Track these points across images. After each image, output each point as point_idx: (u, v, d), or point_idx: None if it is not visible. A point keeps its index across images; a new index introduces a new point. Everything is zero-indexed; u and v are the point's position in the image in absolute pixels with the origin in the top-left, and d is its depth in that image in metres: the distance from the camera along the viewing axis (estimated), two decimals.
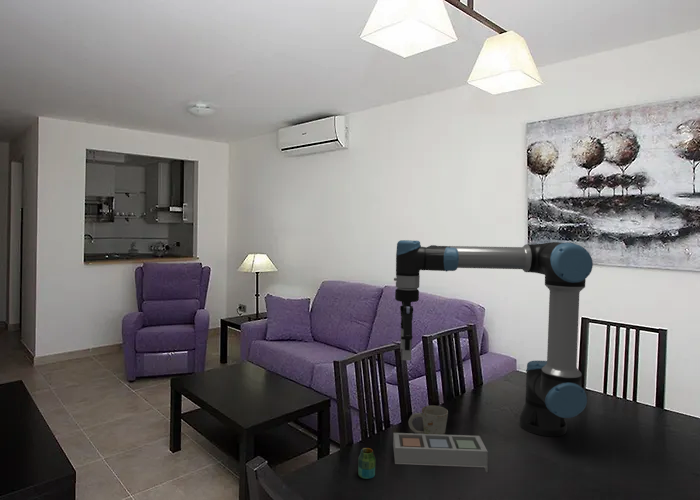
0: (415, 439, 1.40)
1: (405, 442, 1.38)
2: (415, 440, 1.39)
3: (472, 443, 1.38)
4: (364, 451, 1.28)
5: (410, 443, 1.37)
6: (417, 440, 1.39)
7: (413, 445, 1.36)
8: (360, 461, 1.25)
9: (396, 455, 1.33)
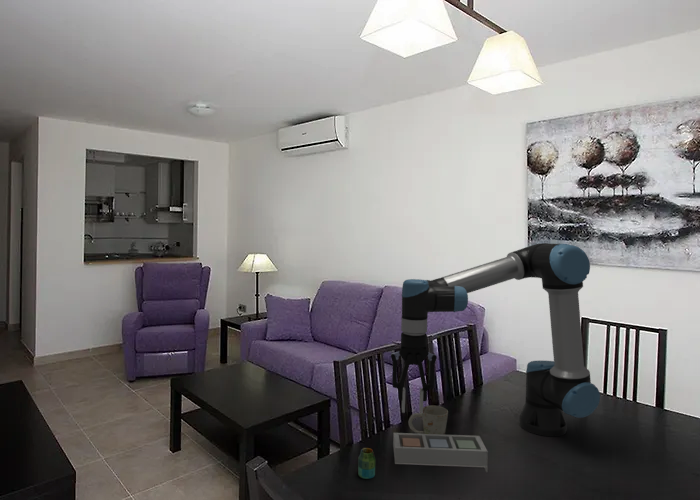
0: (415, 439, 1.40)
1: (405, 442, 1.38)
2: (415, 440, 1.39)
3: (472, 443, 1.38)
4: (364, 451, 1.28)
5: (410, 443, 1.37)
6: (417, 440, 1.39)
7: (413, 445, 1.36)
8: (360, 461, 1.25)
9: (396, 455, 1.33)
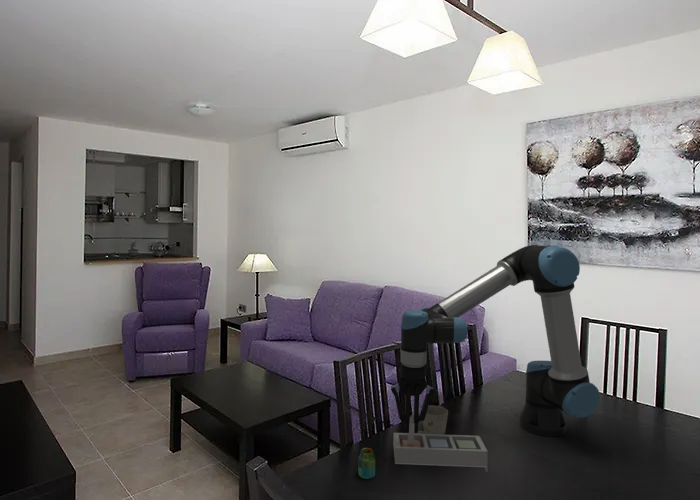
0: (415, 441, 1.40)
1: (405, 444, 1.38)
2: (415, 442, 1.39)
3: (472, 443, 1.38)
4: (364, 451, 1.28)
5: (410, 445, 1.37)
6: (417, 442, 1.39)
7: (413, 446, 1.36)
8: (360, 461, 1.25)
9: (396, 455, 1.33)
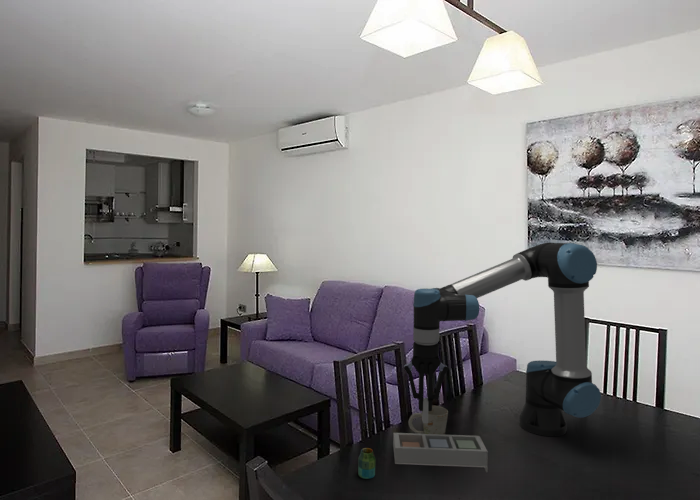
0: (415, 443, 1.40)
1: (405, 446, 1.38)
2: (415, 444, 1.39)
3: (472, 443, 1.38)
4: (364, 451, 1.28)
5: None
6: (417, 444, 1.39)
7: None
8: (360, 461, 1.25)
9: (396, 455, 1.33)
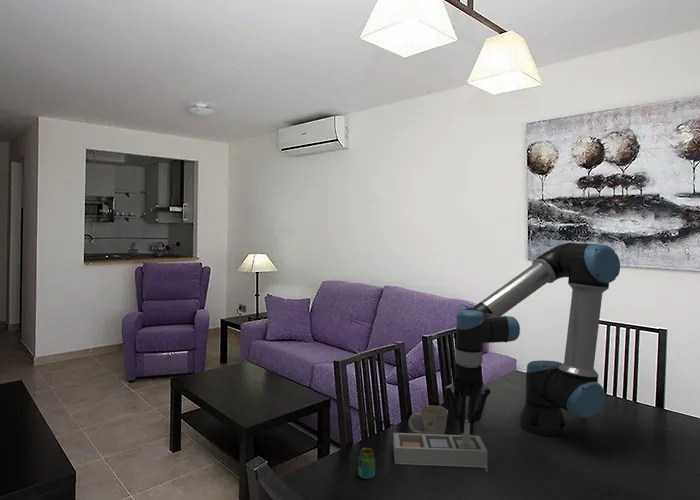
0: (415, 443, 1.40)
1: (405, 446, 1.38)
2: (415, 444, 1.39)
3: (472, 443, 1.38)
4: (364, 451, 1.28)
5: None
6: (417, 444, 1.39)
7: None
8: (360, 461, 1.25)
9: (396, 455, 1.33)
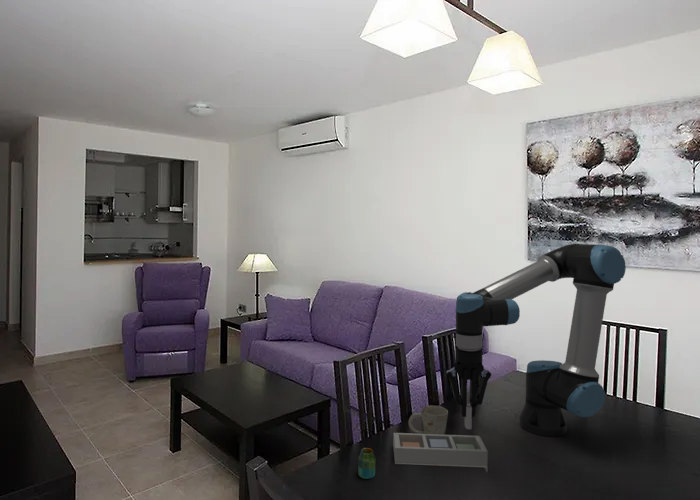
0: (415, 443, 1.40)
1: (405, 446, 1.38)
2: (415, 444, 1.39)
3: (472, 447, 1.38)
4: (364, 451, 1.28)
5: None
6: (417, 444, 1.39)
7: None
8: (360, 461, 1.25)
9: (396, 455, 1.33)
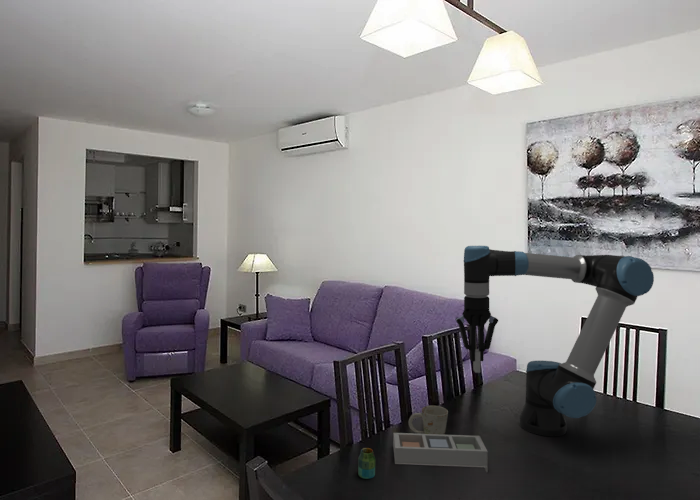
0: (415, 443, 1.40)
1: (405, 446, 1.38)
2: (415, 444, 1.39)
3: (472, 447, 1.38)
4: (364, 451, 1.28)
5: None
6: (417, 444, 1.39)
7: None
8: (360, 461, 1.25)
9: (396, 455, 1.33)
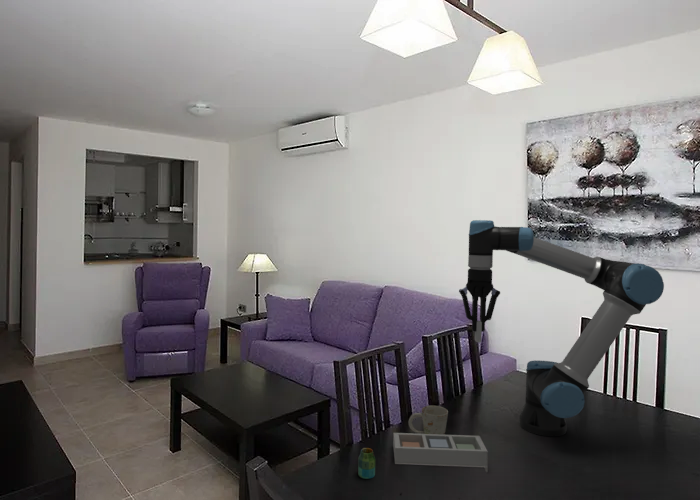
0: (415, 443, 1.40)
1: (405, 446, 1.38)
2: (415, 444, 1.39)
3: (472, 447, 1.38)
4: (364, 451, 1.28)
5: None
6: (417, 444, 1.39)
7: None
8: (360, 461, 1.25)
9: (396, 455, 1.33)
